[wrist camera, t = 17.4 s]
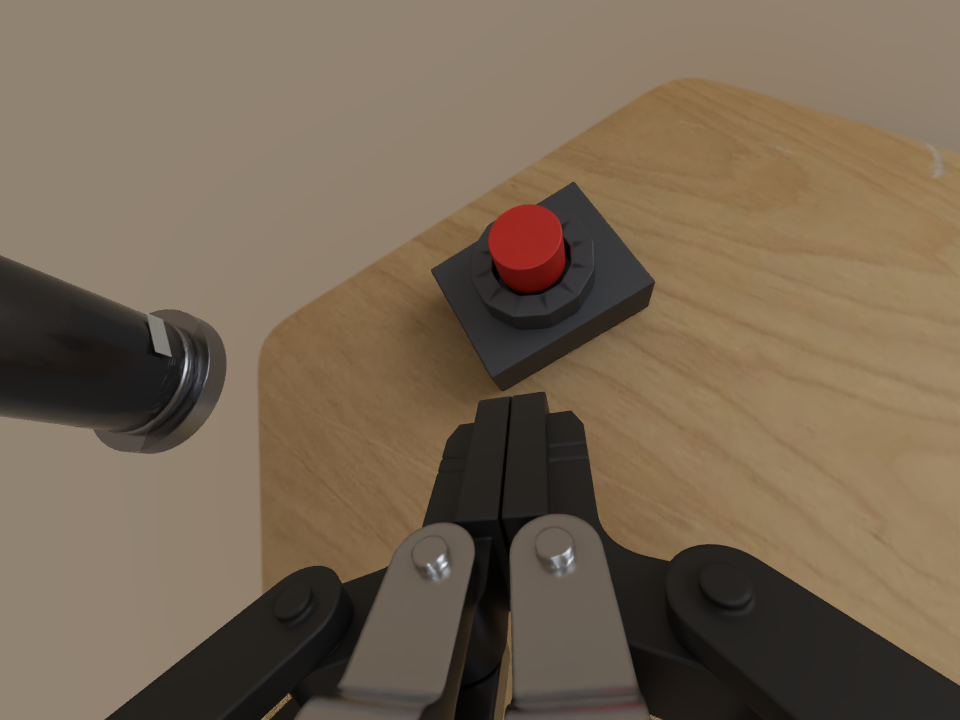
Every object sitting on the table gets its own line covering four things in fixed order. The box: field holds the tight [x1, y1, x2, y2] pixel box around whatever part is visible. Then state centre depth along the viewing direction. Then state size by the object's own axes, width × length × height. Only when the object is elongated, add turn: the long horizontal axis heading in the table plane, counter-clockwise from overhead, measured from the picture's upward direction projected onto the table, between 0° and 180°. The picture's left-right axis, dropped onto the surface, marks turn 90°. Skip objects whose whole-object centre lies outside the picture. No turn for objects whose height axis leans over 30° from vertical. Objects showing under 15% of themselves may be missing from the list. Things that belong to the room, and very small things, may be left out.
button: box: [488, 205, 566, 293], centre depth 22 cm, size 4×4×3 cm
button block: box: [431, 182, 655, 391], centre depth 25 cm, size 10×8×5 cm
